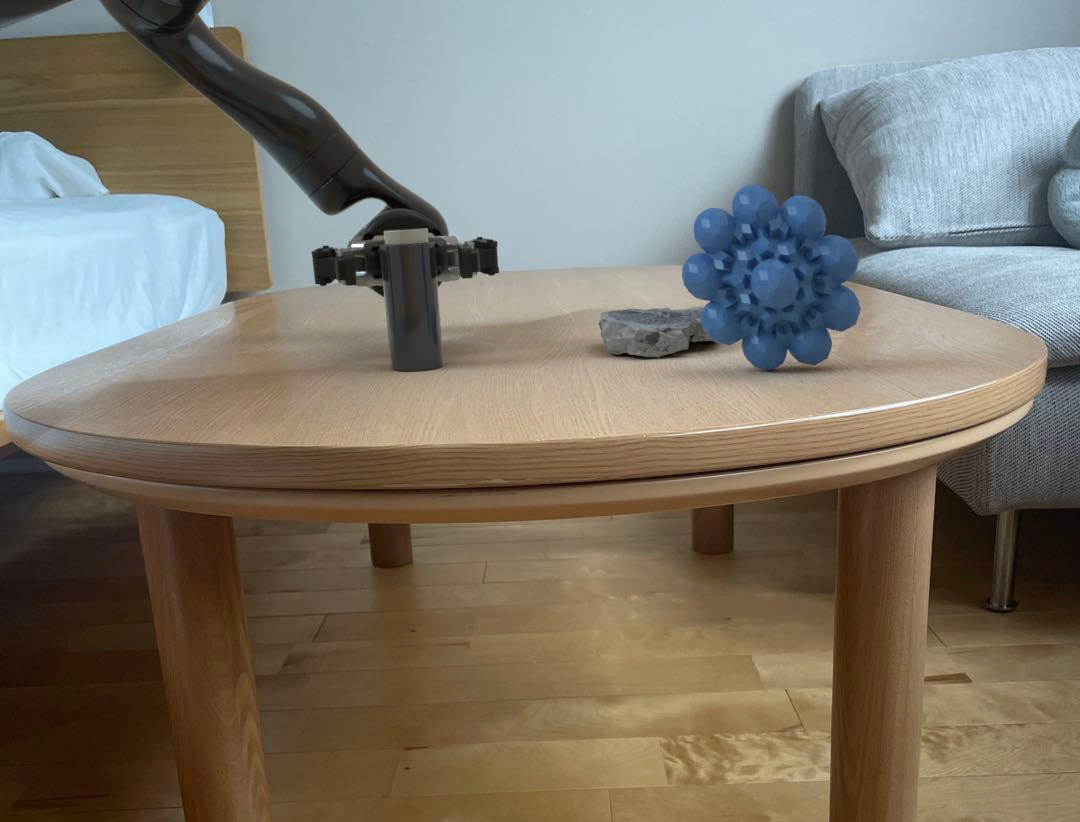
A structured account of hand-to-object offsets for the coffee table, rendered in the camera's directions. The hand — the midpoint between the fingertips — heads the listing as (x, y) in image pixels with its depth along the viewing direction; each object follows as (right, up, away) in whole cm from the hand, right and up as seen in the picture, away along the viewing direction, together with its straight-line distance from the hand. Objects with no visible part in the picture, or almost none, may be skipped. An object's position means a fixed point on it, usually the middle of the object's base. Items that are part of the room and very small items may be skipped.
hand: (409, 267), depth 76 cm
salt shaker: (0, -7, +3) cm, 7 cm away
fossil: (+19, -5, +7) cm, 21 cm away
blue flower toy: (+25, -9, -6) cm, 27 cm away
